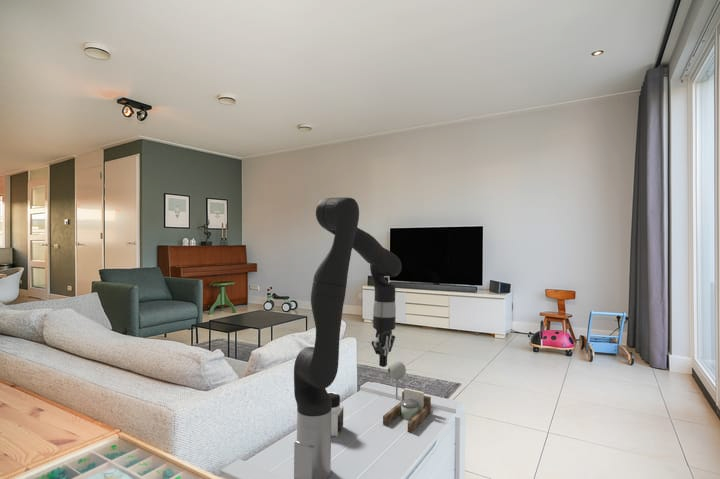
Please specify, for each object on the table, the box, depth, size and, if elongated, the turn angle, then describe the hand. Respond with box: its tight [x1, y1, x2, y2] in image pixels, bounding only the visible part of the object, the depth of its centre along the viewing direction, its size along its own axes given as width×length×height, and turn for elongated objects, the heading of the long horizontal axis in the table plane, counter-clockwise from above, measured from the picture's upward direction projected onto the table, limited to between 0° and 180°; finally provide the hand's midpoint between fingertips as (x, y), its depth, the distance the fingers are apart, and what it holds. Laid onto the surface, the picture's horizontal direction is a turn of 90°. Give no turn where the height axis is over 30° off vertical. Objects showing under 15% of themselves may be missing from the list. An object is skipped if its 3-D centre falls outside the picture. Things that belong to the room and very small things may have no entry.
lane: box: [382, 390, 432, 434], centre depth 138 cm, size 18×11×6 cm, turn 149°
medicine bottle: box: [327, 391, 344, 438], centre depth 129 cm, size 7×7×12 cm
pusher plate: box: [403, 387, 425, 413], centre depth 146 cm, size 7×7×8 cm
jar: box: [400, 399, 418, 422], centre depth 140 cm, size 6×6×5 cm
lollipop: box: [387, 360, 407, 400], centre depth 156 cm, size 7×7×15 cm
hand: (383, 366), depth 131 cm, fingers closed
